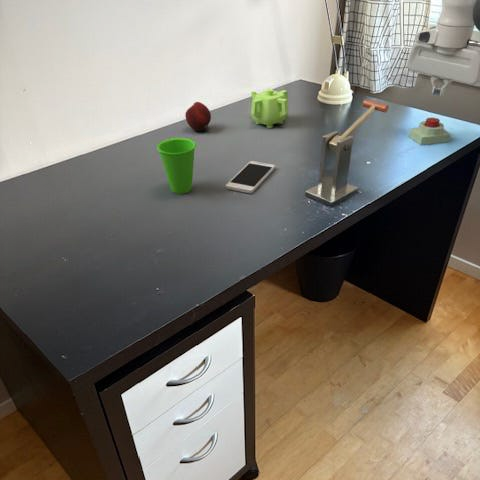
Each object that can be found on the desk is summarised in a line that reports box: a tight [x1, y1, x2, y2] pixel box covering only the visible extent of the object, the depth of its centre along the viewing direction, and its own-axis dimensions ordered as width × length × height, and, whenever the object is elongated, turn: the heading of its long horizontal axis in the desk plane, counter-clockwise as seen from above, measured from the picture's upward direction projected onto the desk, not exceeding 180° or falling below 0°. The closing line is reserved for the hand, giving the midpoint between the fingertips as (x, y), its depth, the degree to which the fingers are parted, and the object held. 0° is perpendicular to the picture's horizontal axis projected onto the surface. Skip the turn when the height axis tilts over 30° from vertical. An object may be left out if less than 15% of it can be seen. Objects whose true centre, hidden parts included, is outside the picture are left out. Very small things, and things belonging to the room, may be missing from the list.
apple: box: [184, 101, 212, 132], centre depth 144 cm, size 7×8×8 cm
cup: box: [156, 137, 197, 195], centre depth 114 cm, size 9×9×11 cm
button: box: [425, 117, 441, 128], centre depth 134 cm, size 4×4×2 cm
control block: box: [407, 120, 452, 146], centre depth 136 cm, size 9×7×4 cm
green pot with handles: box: [250, 88, 290, 129], centre depth 146 cm, size 12×12×10 cm
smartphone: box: [225, 160, 276, 194], centre depth 120 cm, size 7×16×1 cm, turn 155°
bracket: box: [304, 130, 359, 208], centre depth 109 cm, size 10×8×14 cm
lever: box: [329, 99, 390, 153], centre depth 107 cm, size 16×6×2 cm, turn 134°
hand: (437, 94), depth 129 cm, fingers closed
